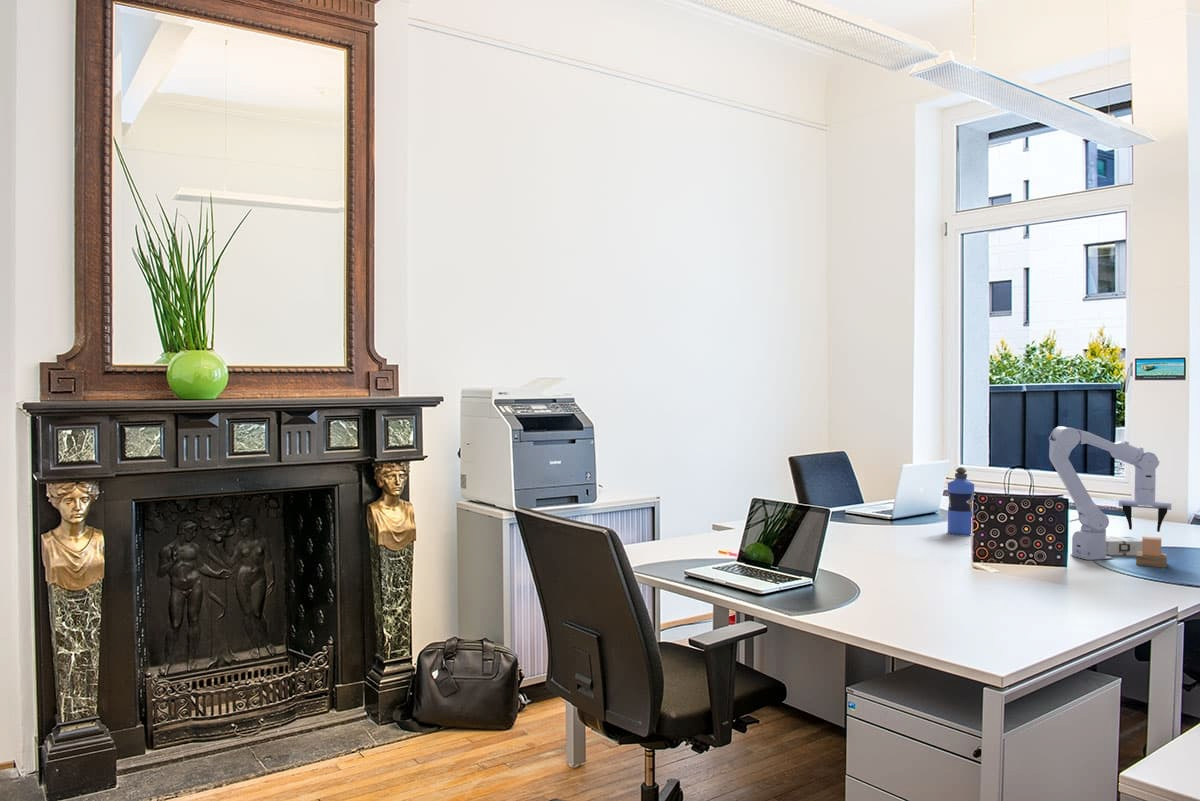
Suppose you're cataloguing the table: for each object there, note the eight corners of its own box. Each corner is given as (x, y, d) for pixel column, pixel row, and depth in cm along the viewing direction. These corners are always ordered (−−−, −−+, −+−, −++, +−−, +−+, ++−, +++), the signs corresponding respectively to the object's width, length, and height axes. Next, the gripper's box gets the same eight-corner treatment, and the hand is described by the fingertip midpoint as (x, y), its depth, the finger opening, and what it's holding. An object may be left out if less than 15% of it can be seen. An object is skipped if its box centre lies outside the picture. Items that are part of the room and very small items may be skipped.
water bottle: (975, 532, 335) (976, 467, 334) (971, 536, 327) (972, 469, 327) (949, 530, 340) (950, 466, 339) (945, 534, 332) (945, 468, 332)
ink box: (1129, 550, 300) (1086, 550, 300) (1130, 536, 300) (1086, 536, 300) (1144, 556, 291) (1099, 555, 292) (1145, 541, 291) (1100, 541, 292)
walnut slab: (1166, 567, 273) (1166, 557, 273) (1136, 564, 277) (1136, 554, 277) (1166, 563, 280) (1166, 553, 280) (1136, 560, 284) (1137, 550, 284)
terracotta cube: (1161, 556, 275) (1161, 540, 275) (1142, 554, 277) (1142, 538, 277) (1160, 553, 279) (1161, 537, 279) (1142, 552, 282) (1142, 536, 281)
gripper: (1118, 488, 286) (1117, 529, 286) (1171, 491, 278) (1171, 534, 279) (1119, 486, 292) (1118, 526, 292) (1171, 488, 284) (1170, 530, 285)
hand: (1144, 530), depth 286 cm, fingers open, 7 cm apart
